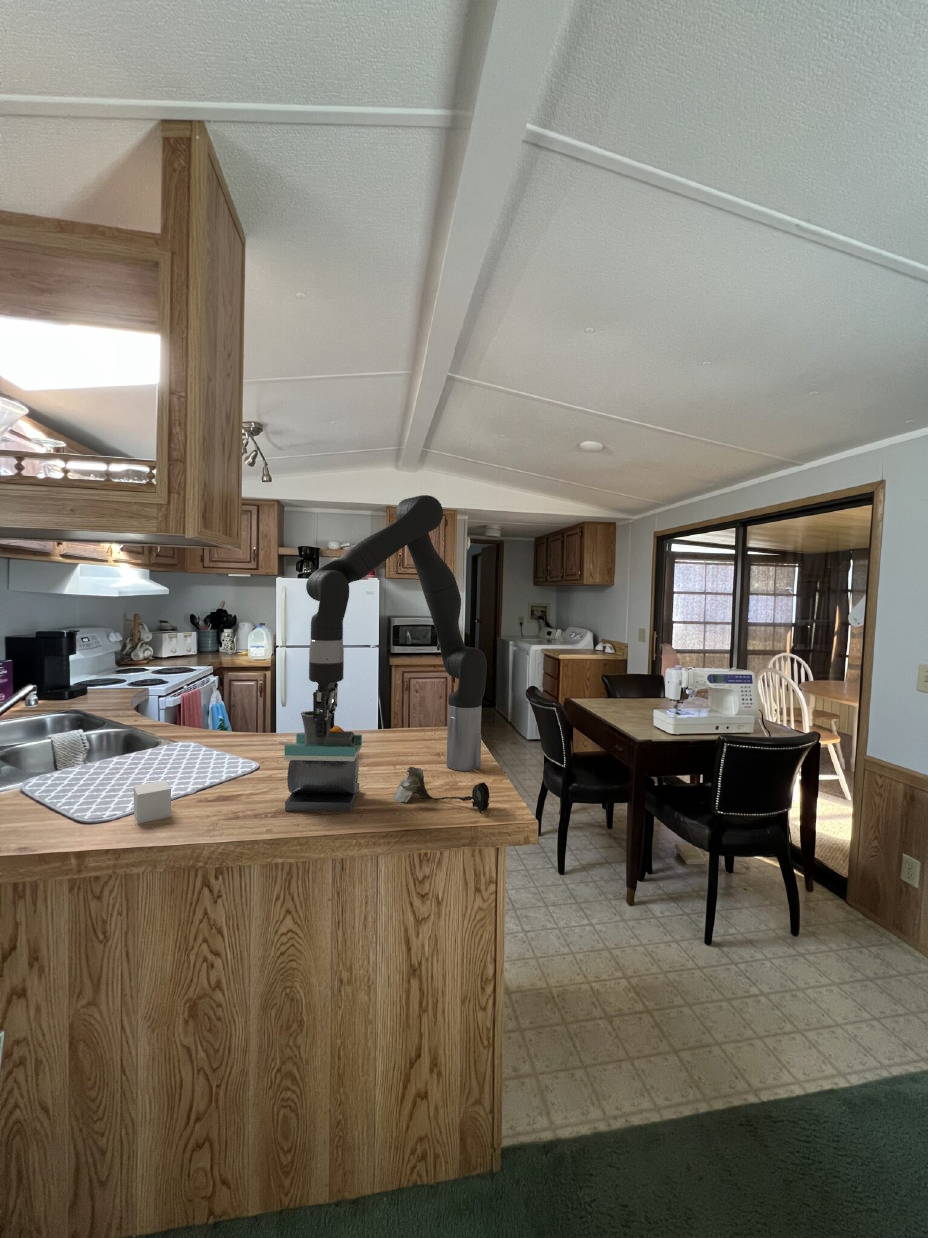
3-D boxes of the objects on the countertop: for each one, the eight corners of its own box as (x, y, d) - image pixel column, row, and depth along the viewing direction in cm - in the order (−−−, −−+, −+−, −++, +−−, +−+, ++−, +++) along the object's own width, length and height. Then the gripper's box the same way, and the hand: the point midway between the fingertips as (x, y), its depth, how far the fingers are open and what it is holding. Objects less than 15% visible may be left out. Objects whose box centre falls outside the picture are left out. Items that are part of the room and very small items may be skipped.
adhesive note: (133, 814, 112) (133, 785, 112) (166, 807, 116) (166, 780, 116) (137, 824, 107) (137, 794, 107) (171, 817, 111) (171, 788, 111)
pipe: (348, 754, 117) (349, 718, 117) (294, 750, 119) (294, 714, 119) (358, 747, 123) (359, 712, 123) (306, 742, 125) (307, 708, 125)
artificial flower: (478, 826, 114) (468, 785, 112) (391, 816, 124) (381, 778, 122) (493, 802, 122) (485, 763, 119) (410, 794, 132) (401, 757, 130)
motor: (361, 791, 128) (362, 733, 127) (352, 812, 116) (353, 748, 115) (297, 790, 127) (298, 732, 127) (282, 811, 115) (283, 746, 115)
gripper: (336, 664, 113) (335, 741, 114) (349, 656, 127) (348, 724, 128) (301, 663, 113) (300, 741, 114) (317, 655, 127) (316, 724, 128)
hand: (325, 732), depth 121 cm, fingers open, 7 cm apart
